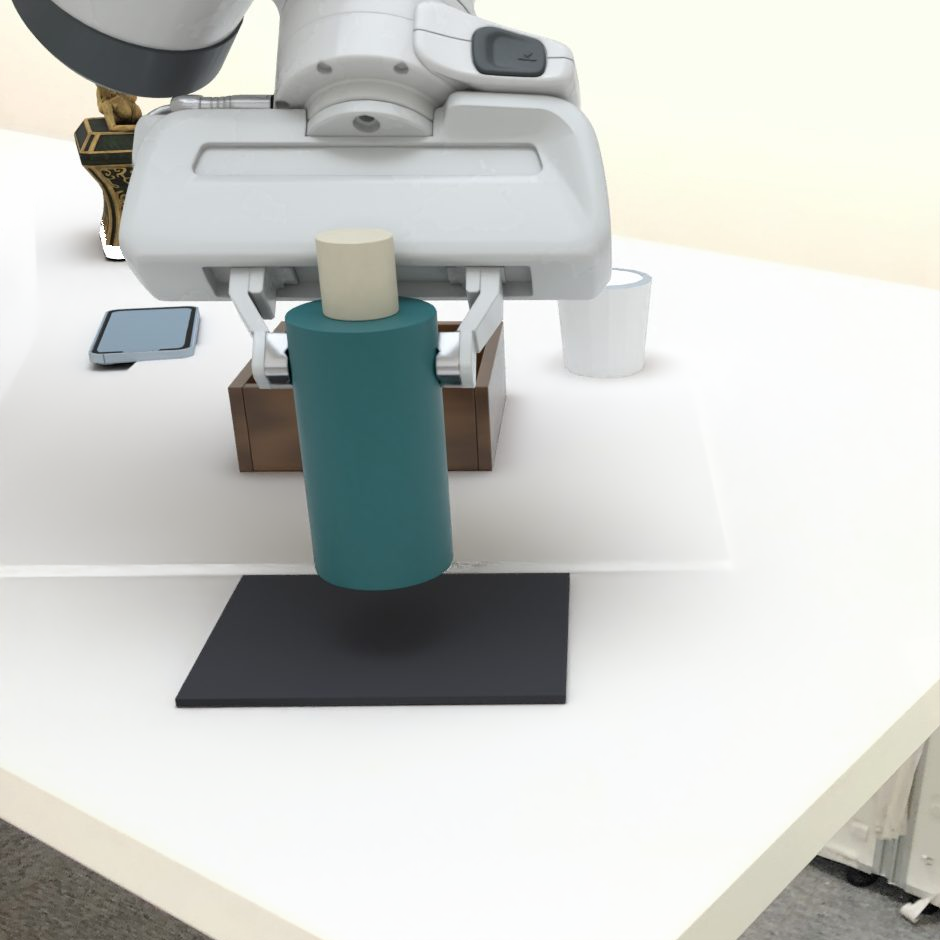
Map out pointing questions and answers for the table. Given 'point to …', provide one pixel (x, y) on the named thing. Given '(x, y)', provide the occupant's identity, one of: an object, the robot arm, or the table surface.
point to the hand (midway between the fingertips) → (366, 382)
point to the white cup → (607, 327)
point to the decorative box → (110, 152)
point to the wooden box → (465, 409)
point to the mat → (386, 643)
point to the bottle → (370, 420)
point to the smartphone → (145, 335)
